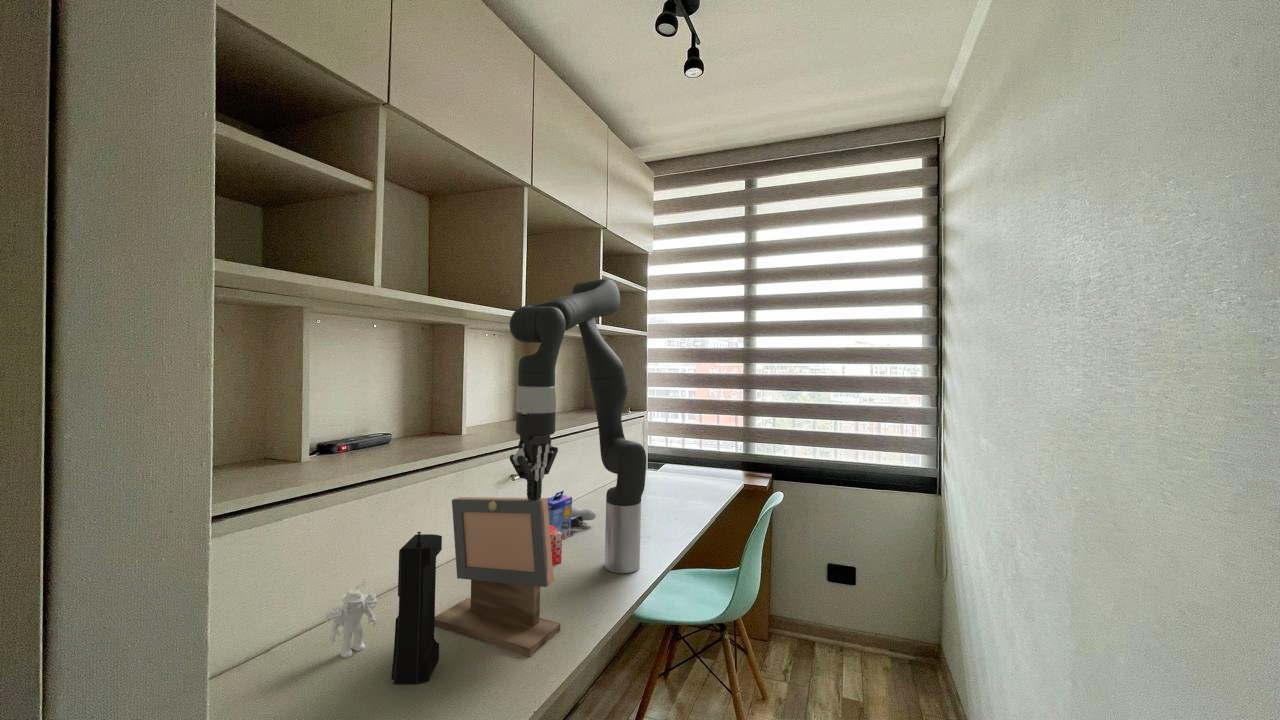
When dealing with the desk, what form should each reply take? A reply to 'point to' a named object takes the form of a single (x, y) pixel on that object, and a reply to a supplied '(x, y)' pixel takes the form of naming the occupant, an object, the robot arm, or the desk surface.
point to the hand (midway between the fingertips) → (534, 499)
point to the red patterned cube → (556, 544)
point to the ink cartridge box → (560, 513)
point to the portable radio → (416, 611)
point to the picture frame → (503, 540)
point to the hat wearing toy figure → (351, 619)
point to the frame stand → (501, 617)
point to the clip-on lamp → (581, 516)
